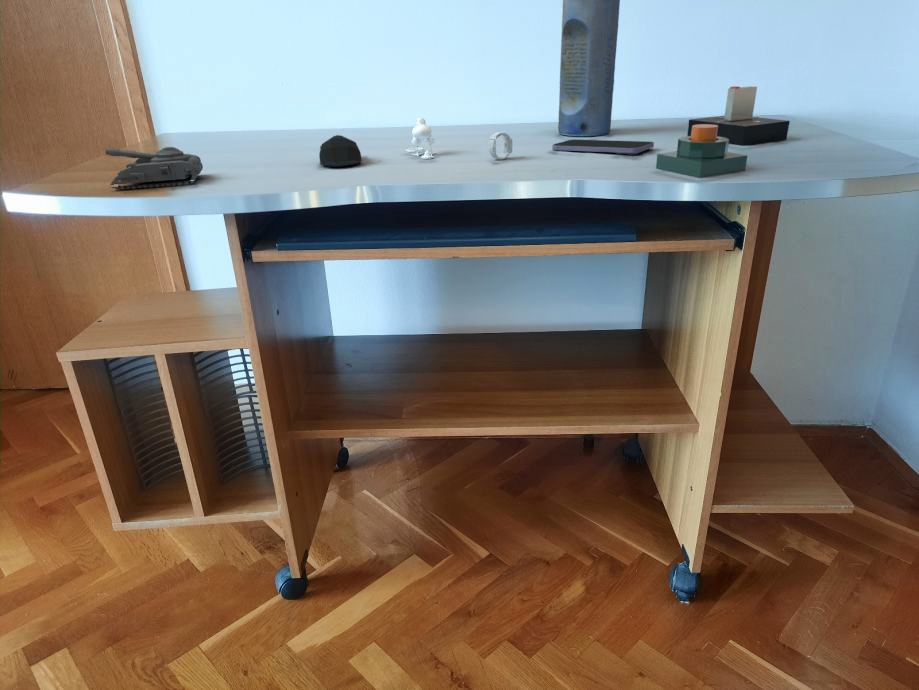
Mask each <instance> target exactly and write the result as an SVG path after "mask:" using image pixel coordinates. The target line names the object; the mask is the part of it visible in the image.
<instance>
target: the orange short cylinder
mask: <svg viewBox="0 0 919 690" xmlns="http://www.w3.org/2000/svg"><path fill="white" fill-rule="evenodd" d="M717 132H718V126H717V125H711V124H698V125H693V126H692V131H691V140H693V141H716V139H717Z"/></svg>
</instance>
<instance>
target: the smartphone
mask: <svg viewBox="0 0 919 690" xmlns="http://www.w3.org/2000/svg"><path fill="white" fill-rule="evenodd" d="M654 146H655V142H654V141H643V140H642V141H640V140H638V141H637V140H607V139H605V140H603V139H602V140H601V139H567V140H564V141H561V142H558V143H554V144H552V145H551V147H552V148H551V149H552V150H553V151H567V152H572V151H573V152H594V153H595V152H596V153H615V154H616V155H621V156H622V155H623V156H624V155H628V156H636V155H638V154H640V153H643V152H645V151H647V150H650V149H653V148H654Z"/></svg>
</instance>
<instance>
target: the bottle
mask: <svg viewBox="0 0 919 690" xmlns="http://www.w3.org/2000/svg"><path fill="white" fill-rule="evenodd" d="M620 4H621V0H562V16H561V18H562V19H561V38H560V39H561V40H560V62H559V63H560V65H559V66H560V67H559V95H558V96H559V100H558V101H559V102H558V103H559V104H558V125H557V131H558V134H560V135H563V136H567V137H595V136H597V137H598V136H604V135H608V134H609V133H610V132H611V127H612V126H611V125H612V110H613V100H614V99H613V97H614V85H615V71H616V59H617V58H616V57H617V45H618V32H619V20H620V19H619V18H620V6H621V5H620Z"/></svg>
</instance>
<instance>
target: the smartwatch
mask: <svg viewBox="0 0 919 690" xmlns="http://www.w3.org/2000/svg"><path fill="white" fill-rule="evenodd" d="M500 136H502V152H503V153H502V154H501V155H500V156H498V155H497V149H496V147H497V146H496V144H497V143H496V142H497V139H498V138H499V137H500ZM487 150H488V153H489V155H490V156H491V158H493V159H495V160H500V161H501V160H505V159H507V158H508V157H509V155H511V154H512V153H513V137H511V136H510V135H509V134H508V133H506V132H502V131H495V132H494V133H492V134H491V136H490V137H489V140H488V144H487Z"/></svg>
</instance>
